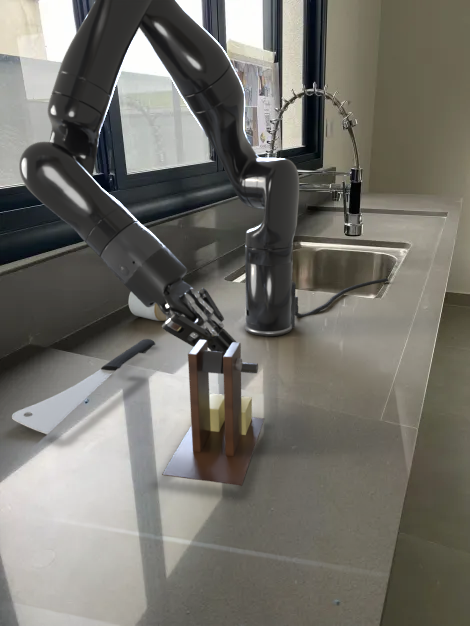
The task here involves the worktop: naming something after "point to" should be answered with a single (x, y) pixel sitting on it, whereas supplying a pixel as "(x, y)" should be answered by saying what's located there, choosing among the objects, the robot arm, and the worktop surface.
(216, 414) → the butter
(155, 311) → the ceramic mug
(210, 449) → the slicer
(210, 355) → the lever
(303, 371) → the worktop surface
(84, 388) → the kitchen cleaver
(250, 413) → the butter
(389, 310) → the worktop surface
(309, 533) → the worktop surface
